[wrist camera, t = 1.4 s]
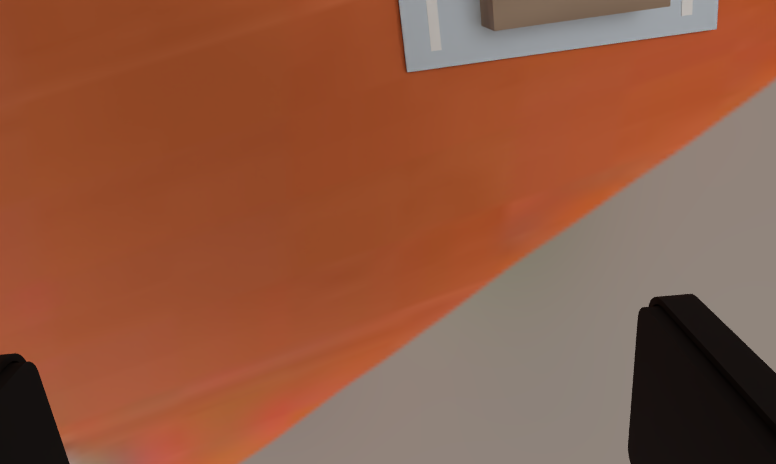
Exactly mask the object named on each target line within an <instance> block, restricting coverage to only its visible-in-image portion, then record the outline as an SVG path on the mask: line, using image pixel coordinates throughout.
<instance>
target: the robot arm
mask: <svg viewBox="0 0 776 464" xmlns="http://www.w3.org/2000/svg"><path fill="white" fill-rule="evenodd" d="M628 453H629V459H630V463H631V464H776V373H775V372H774V371H773V370H772V369H771V368H770V367H769V366H768V365H767V364H766V363H765V362H764V361H763V360H761V359H760V358H759V357H758V356H757V355H756V354H755V353H754V352H753V351H752V350H751V349H750V348H749V347H748V346H747V345H746V344H745V343H744V342H743V341H742V340H741V339H740V338H739V337H738V336H737V335H736V334H735V333H733V331H732V330H730V329H729V328H728V327H727V326H726V325H725V324H724V323H723V322H722V321H721V320H720V319H719V318H718V317H717V316H716V315H715V314H714V313H713V312H712V311H711V310H710V309H709V308H708V307H707V306H706V305H705V304H704V303H702V302H701V301H700V300H699V299H698V298H697V297H696V296H695V295H693V294H684V295H672V296H661V297H654V298H653V299H651V301H650V304H649V307H643V308H641V309H640V311H639V315H638V323H637V336H636V350H635V362H634V375H633V388H632V401H631V414H630V427H629V440H628ZM0 464H69V461H68V458H67V455H66V452H65V449H64V446H63V443H62V440H61V437H60V434H59V431H58V429H57V426H56V423H55V420H54V417H53V414H52V411H51V408H50V405H49V402H48V399H47V396H46V393H45V390H44V387H43V384H42V381H41V378H40V375H39V372H38V370H37V368H36V366H35V365H34V364H33V363H31V362H26V361H25V359H24V358H23V357H22V356H21V355H19V354H16V353H15V354H4V355H0Z"/></svg>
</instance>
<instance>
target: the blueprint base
mask: <svg viewBox="0 0 776 464" xmlns="http://www.w3.org/2000/svg"><path fill="white" fill-rule="evenodd" d="M398 2H399V10H400V19H401V27H402V35H403V44H404V52H405V60H406V69H407V72H413V71H421V70H428V69H435V68H442V67H449V66H456V65H463V64H471V63H478V62H485V61H492V60H499V59H506V58H513V57H521V56H528V55H535V54H542V53H549V52H556V51H563V50H571V49H578V48H585V47H592V46H599V45H606V44H613V43H621V42H628V41H635V40H642V39H649V38H656V37H663V36H671V35H678V34H685V33H692V32H699V31H706V30H713V29H717V15H718V0H398Z"/></svg>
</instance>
